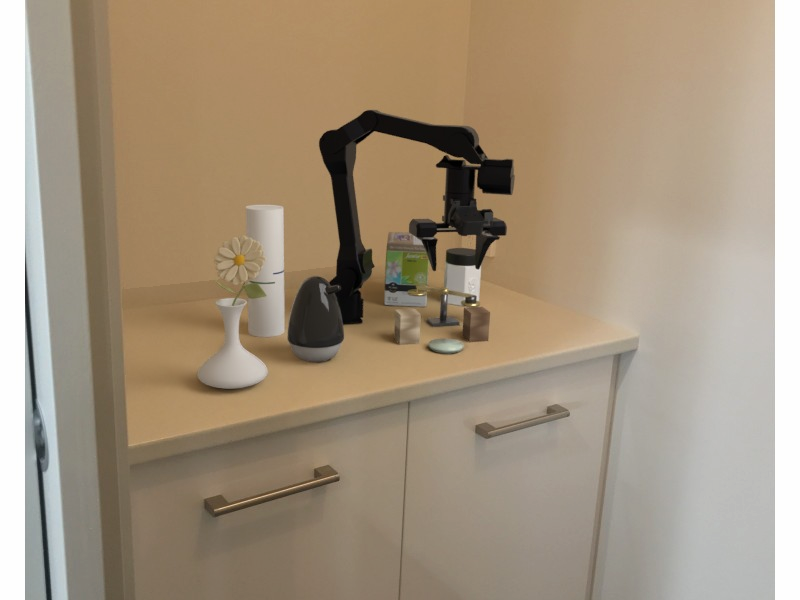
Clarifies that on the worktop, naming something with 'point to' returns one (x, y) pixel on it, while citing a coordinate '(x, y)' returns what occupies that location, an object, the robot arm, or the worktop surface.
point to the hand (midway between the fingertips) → (455, 269)
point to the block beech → (407, 326)
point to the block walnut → (476, 324)
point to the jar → (461, 274)
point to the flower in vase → (235, 317)
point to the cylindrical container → (267, 270)
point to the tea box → (405, 269)
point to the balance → (444, 303)
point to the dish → (446, 346)
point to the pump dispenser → (315, 321)
